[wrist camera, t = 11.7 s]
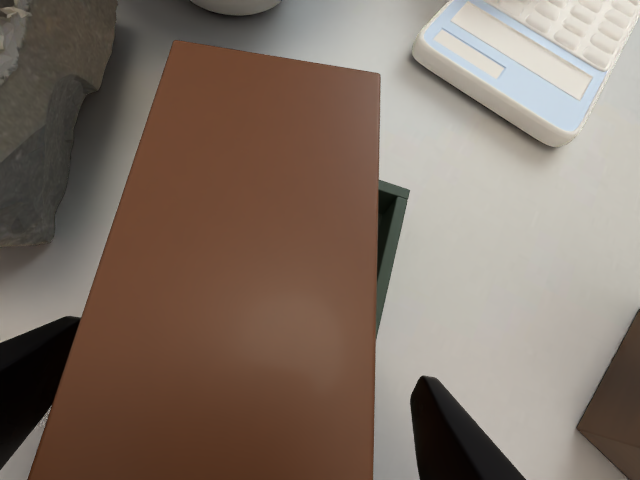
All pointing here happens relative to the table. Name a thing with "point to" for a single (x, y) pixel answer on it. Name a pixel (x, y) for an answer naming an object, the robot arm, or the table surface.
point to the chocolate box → (233, 284)
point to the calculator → (529, 57)
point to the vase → (237, 6)
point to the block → (618, 408)
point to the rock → (44, 104)
